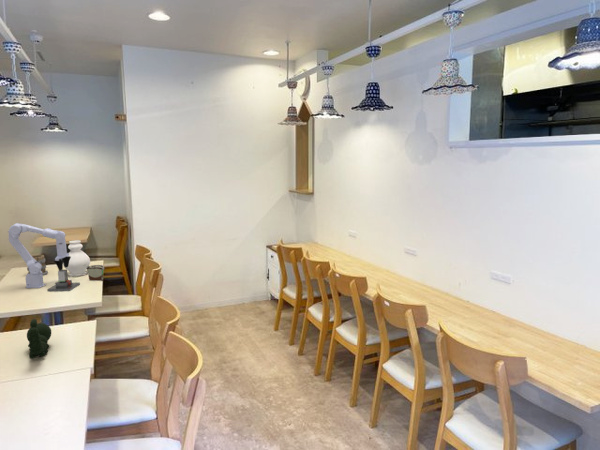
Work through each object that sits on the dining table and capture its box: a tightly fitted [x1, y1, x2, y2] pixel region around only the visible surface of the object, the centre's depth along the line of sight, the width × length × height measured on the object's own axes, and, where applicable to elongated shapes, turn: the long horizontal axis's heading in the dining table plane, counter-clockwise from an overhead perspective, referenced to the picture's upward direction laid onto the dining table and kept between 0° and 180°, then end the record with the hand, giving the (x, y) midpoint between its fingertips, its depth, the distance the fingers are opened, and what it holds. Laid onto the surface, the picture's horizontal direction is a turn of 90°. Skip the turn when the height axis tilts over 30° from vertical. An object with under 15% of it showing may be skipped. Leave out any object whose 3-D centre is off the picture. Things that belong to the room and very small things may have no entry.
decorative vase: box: [63, 239, 91, 277], centre depth 304 cm, size 18×18×25 cm
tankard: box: [26, 254, 49, 277], centre depth 301 cm, size 20×13×15 cm, turn 25°
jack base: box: [46, 279, 81, 292], centre depth 273 cm, size 14×14×5 cm
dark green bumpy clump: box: [26, 318, 52, 360], centre depth 181 cm, size 9×19×25 cm
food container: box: [85, 264, 105, 282], centre depth 292 cm, size 12×6×10 cm, turn 84°
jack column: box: [57, 269, 69, 282], centre depth 272 cm, size 4×4×7 cm
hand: (63, 268), depth 282 cm, fingers open, 7 cm apart
